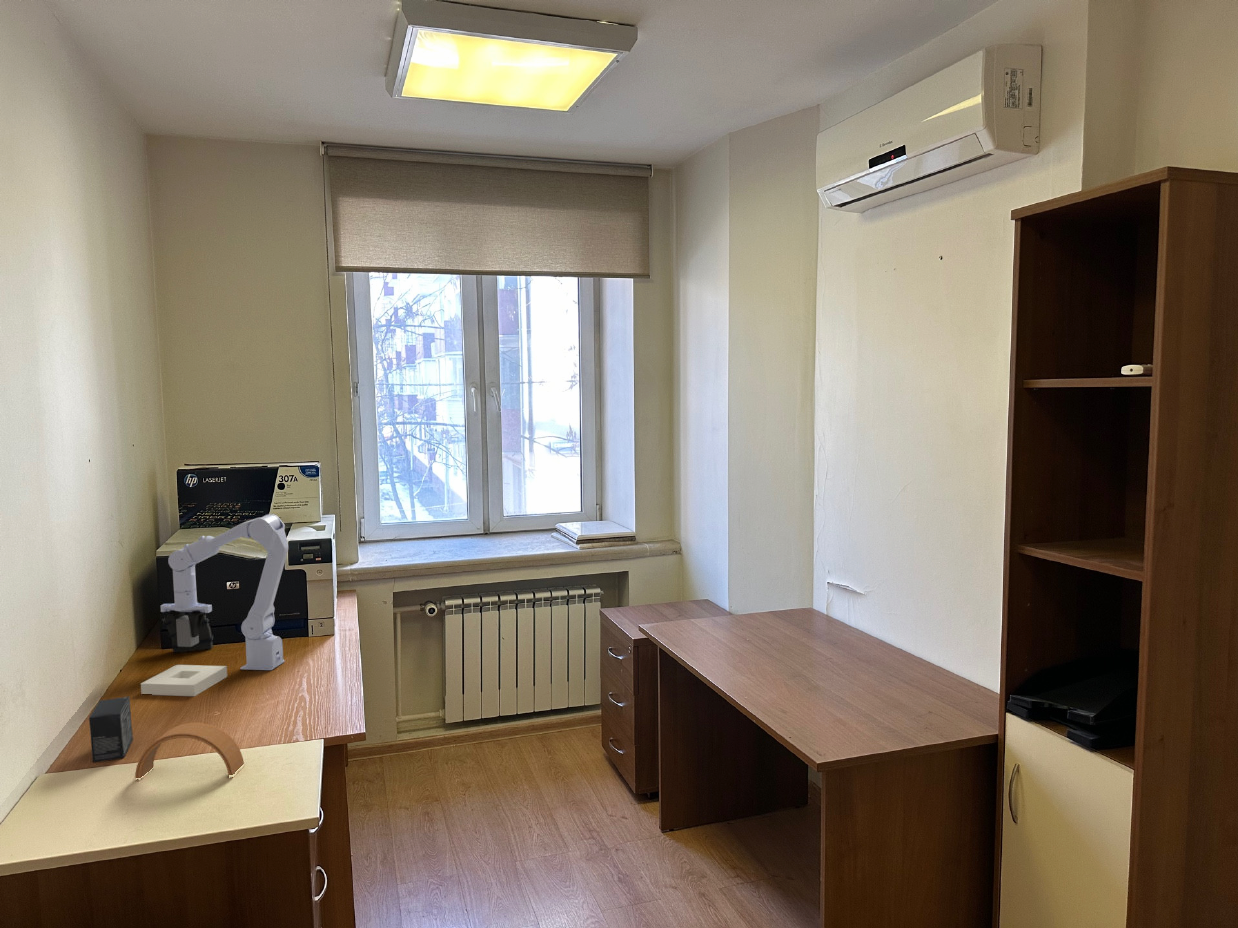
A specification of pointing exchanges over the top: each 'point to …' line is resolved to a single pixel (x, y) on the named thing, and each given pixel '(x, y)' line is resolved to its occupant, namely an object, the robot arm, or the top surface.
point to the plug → (185, 633)
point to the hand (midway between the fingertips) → (187, 636)
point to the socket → (184, 680)
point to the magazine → (204, 636)
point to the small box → (111, 729)
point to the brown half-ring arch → (199, 732)
